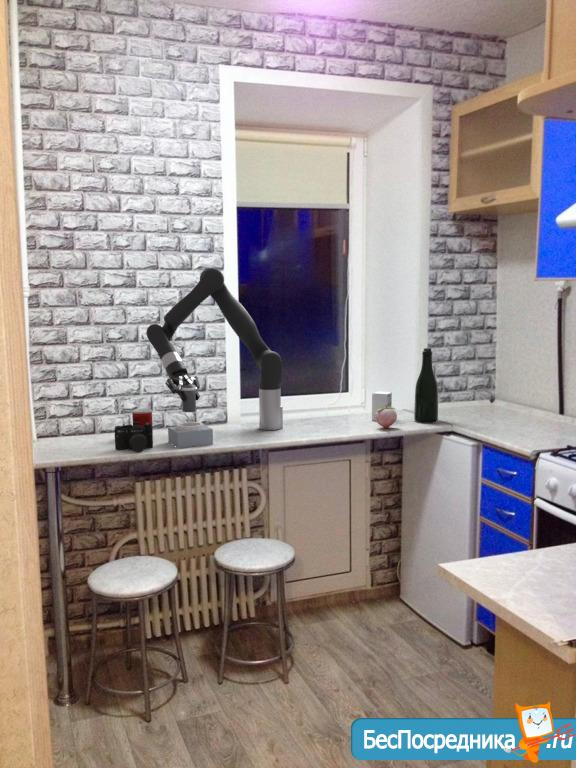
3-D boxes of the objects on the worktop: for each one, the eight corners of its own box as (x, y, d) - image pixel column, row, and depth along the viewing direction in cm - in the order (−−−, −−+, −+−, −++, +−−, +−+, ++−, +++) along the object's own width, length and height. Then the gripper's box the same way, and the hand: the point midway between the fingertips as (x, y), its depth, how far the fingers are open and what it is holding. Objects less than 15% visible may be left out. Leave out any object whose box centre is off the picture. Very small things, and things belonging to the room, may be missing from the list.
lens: (193, 409, 264) (193, 384, 262) (198, 411, 259) (197, 385, 257) (180, 410, 261) (179, 384, 260) (184, 412, 256) (184, 386, 255)
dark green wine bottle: (413, 419, 309) (414, 347, 305) (436, 419, 308) (437, 347, 304) (415, 423, 298) (416, 349, 294) (439, 423, 297) (440, 349, 293)
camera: (115, 454, 244) (114, 427, 243) (115, 448, 254) (113, 422, 253) (154, 452, 248) (154, 425, 246) (152, 446, 258) (151, 420, 257)
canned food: (156, 435, 277) (155, 409, 275) (146, 439, 269) (145, 412, 268) (139, 434, 279) (138, 408, 278) (129, 438, 271) (128, 411, 270)
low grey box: (202, 438, 270) (201, 420, 269) (213, 444, 259) (212, 425, 258) (168, 442, 264) (167, 423, 263) (177, 448, 253) (177, 428, 252)
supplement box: (387, 421, 303) (387, 394, 301) (371, 420, 306) (371, 393, 304) (391, 419, 310) (392, 391, 308) (376, 418, 313) (376, 391, 311)
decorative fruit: (386, 425, 294) (387, 402, 293) (400, 428, 288) (400, 405, 286) (370, 428, 289) (370, 405, 288) (383, 431, 282) (384, 407, 281)
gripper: (161, 360, 258) (179, 395, 251) (193, 358, 268) (211, 391, 260) (154, 373, 263) (172, 407, 255) (185, 370, 272) (203, 403, 265)
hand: (191, 399), depth 258 cm, fingers closed on lens, 5 cm apart
